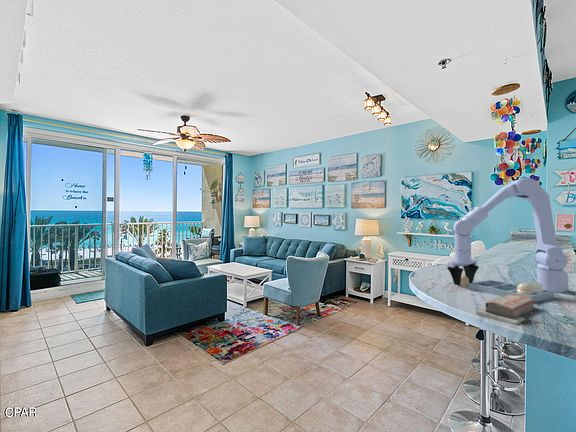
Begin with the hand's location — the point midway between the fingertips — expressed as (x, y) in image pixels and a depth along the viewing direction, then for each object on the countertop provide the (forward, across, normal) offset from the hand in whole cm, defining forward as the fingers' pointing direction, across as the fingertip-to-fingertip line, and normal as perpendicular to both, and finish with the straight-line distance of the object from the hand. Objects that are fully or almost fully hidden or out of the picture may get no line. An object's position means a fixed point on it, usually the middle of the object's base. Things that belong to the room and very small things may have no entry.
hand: (463, 283), depth 114 cm
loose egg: (+2, 0, 0) cm, 2 cm away
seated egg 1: (0, 0, +21) cm, 21 cm away
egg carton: (+1, -3, +15) cm, 15 cm away
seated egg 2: (0, -6, +21) cm, 22 cm away
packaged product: (+2, +18, +26) cm, 32 cm away
